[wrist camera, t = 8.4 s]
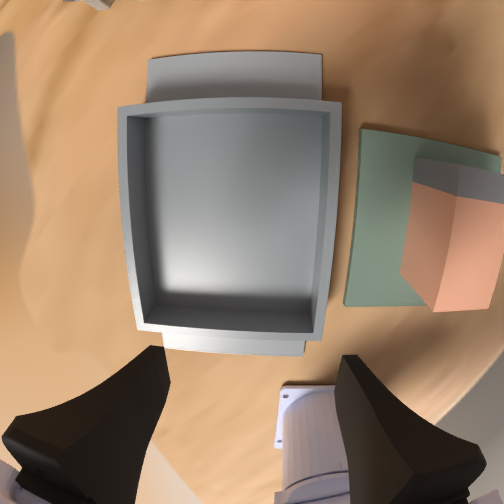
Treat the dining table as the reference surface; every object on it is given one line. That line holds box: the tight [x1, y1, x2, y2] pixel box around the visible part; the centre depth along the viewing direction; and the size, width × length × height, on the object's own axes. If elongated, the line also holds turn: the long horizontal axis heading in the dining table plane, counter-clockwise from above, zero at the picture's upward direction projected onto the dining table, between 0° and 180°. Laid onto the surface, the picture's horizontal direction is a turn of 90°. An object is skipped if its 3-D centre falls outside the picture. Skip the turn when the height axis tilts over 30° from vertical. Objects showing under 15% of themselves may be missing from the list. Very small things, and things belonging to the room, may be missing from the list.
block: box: [399, 158, 504, 312], centre depth 16 cm, size 8×4×6 cm, turn 179°
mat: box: [343, 129, 502, 307], centre depth 19 cm, size 12×12×1 cm
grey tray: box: [118, 51, 342, 356], centre depth 18 cm, size 21×12×3 cm, turn 179°
